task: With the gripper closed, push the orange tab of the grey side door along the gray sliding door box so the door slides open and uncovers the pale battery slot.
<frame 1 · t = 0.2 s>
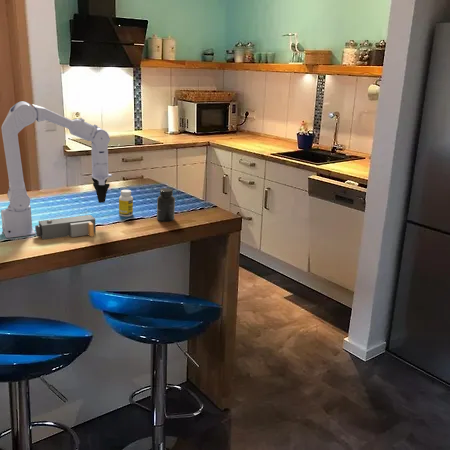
hand: (100, 199, 181), 10 cm above the countertop, tool pointing down, fingers open, 7 cm apart
supplement bottle 2: (126, 215, 197), on the countertop
gray sliding door box: (68, 233, 174), on the countertop
side door: (81, 229, 171), point 3 cm above the countertop, slide at 0.0 cm
supplement bottle: (165, 219, 194), on the countertop
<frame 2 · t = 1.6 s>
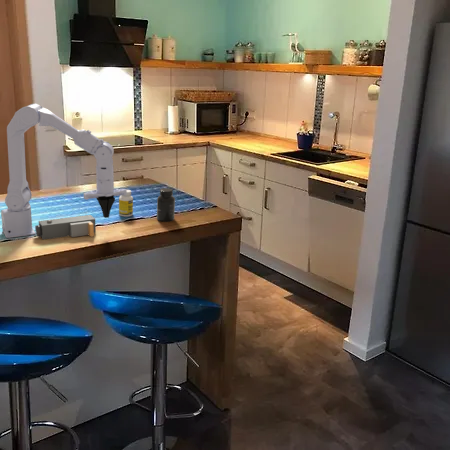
hand: (106, 216, 173), 6 cm above the countertop, tool pointing down, fingers closed
nothing on the countertop moved.
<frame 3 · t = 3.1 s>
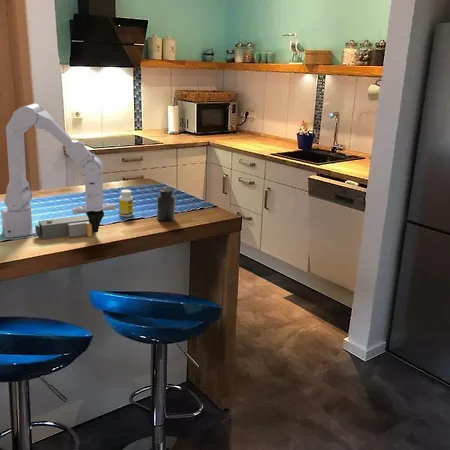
hand: (95, 231, 173), 2 cm above the countertop, tool pointing down, fingers closed
side door: (80, 230, 171), point 3 cm above the countertop, slide at 0.7 cm, touching gripper
everything else where it was.
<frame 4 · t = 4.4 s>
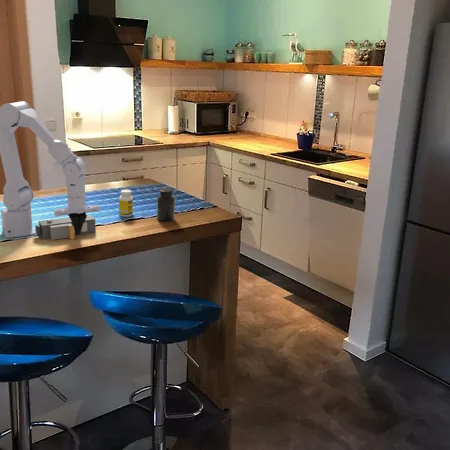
hand: (78, 233, 170), 2 cm above the countertop, tool pointing down, fingers closed
side door: (62, 232, 168), point 3 cm above the countertop, slide at 6.7 cm, touching gripper
everything else where it was.
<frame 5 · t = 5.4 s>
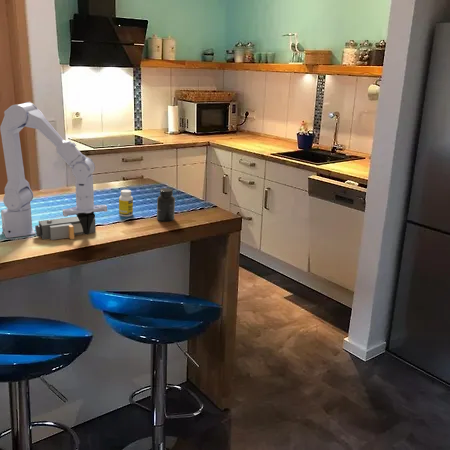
hand: (86, 233, 170), 2 cm above the countertop, tool pointing down, fingers closed
side door: (61, 232, 167), point 3 cm above the countertop, slide at 6.7 cm
everything else where it was.
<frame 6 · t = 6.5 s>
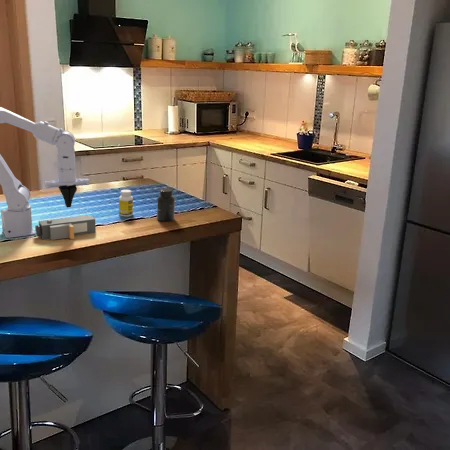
hand: (68, 206, 173), 9 cm above the countertop, tool pointing down, fingers closed
nothing on the countertop moved.
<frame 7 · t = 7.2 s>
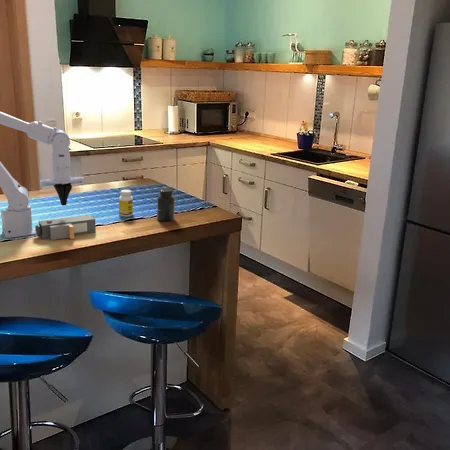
hand: (63, 204, 174), 9 cm above the countertop, tool pointing down, fingers closed
nothing on the countertop moved.
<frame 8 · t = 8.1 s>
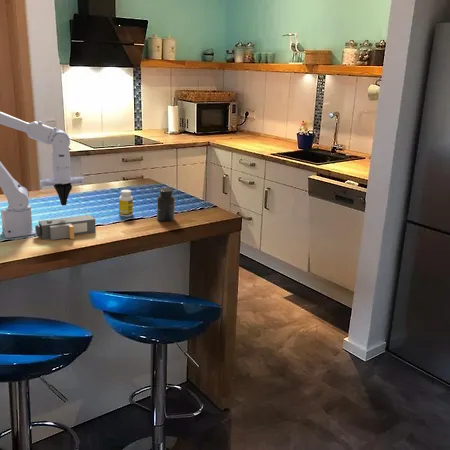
hand: (63, 204, 174), 9 cm above the countertop, tool pointing down, fingers closed
nothing on the countertop moved.
at the end: side door slide at 6.7 cm; the gripper is holding nothing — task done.
